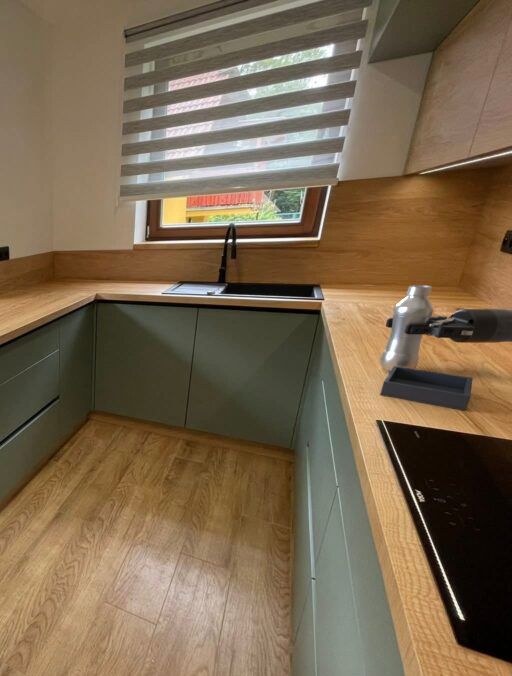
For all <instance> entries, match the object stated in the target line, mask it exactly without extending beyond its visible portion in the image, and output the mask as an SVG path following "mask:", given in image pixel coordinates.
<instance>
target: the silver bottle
mask: <svg viewBox="0 0 512 676" xmlns="http://www.w3.org/2000/svg"><path fill="white" fill-rule="evenodd" d="M432 288H433V286H432V285H431V286H430V285H419V284H417V285H416V284H415V285H414V284H411V285H409V286H408V288H407V291H406V297H404V298H403V299H402V300H400V301H399V302H398V303H396V305H395V306H394V308H393V312H392V318H393V323H392V328H390V329H391V330H390V335H389V337H388V341H387V343H386V346H385V349H384V350H383V351H382V353H381V356H380V359H379V360H380V361H379V365H380V367H381V368H382V369H383V370H386V371H389V372H390V371H391V370H392V368H393V366H396V367H403V368H410V369H417V366H418V364H419V360H420V354H419V353H420V347H421V342H422V339H423V334H406V333H405V328H406V326H407V325H408V324H427V323H428V322H429V320H430V318H431V316H433V313H434V306H433V305H432V303H431V301H430V299H429V296H431V292H432Z"/></svg>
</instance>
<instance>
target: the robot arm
mask: <svg viewBox="0 0 512 676" xmlns="http://www.w3.org/2000/svg"><path fill="white" fill-rule="evenodd" d="M392 323H393V317H389V318H387V320H386V322H385V327H386V328H389V329H392ZM405 333H406V334H422V335H425V336H428V337H434V338H437V339H441V338H442V339H443V338H444V339H450V340H451V341H452V342H454V343H458V344H463V343H464V344H465V343H466V344H472V343H473V344H498V343H512V309H505V308H504V309H503V308H464V309H463V308H462V309H458V310H456V311H454V312H453V313H452V314H451V315H450V316H448V315H435V316H433V315H431V318H430V320H429V322H428V323H427V324H408V325H407V326H406V328H405Z"/></svg>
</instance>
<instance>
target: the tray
mask: <svg viewBox="0 0 512 676" xmlns="http://www.w3.org/2000/svg"><path fill="white" fill-rule="evenodd" d="M473 379H474V378H473V377H470V376H463V375H456V374H448V373H444V372H443V373H442V372H436V371H429V370H422V369H417V368H415V369H410V368H403V367H396V366H393V368H392V370H391V371H390V370H389V372H388V375H386V377H385V379H384V380H383V384H382V386H381V390H380V394H379V395H380V396H384V397H390V398H395V399H400V400H406V401H412V402H417V403H421V404H427V405H432V406H438V407H443V408H448V409H454V410H459V411H463V412H464V411H466V409H467V407H468V404H469V401H470V399H471V396H472V387H473Z"/></svg>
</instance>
